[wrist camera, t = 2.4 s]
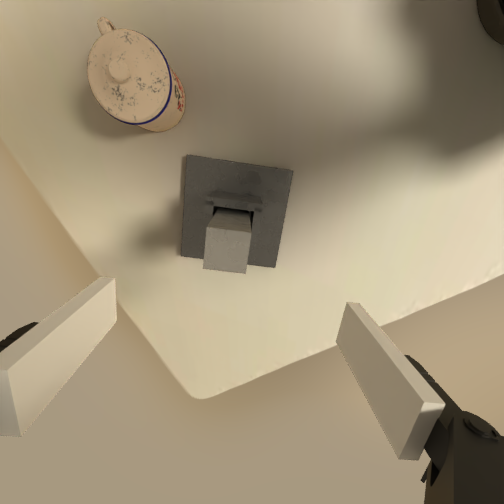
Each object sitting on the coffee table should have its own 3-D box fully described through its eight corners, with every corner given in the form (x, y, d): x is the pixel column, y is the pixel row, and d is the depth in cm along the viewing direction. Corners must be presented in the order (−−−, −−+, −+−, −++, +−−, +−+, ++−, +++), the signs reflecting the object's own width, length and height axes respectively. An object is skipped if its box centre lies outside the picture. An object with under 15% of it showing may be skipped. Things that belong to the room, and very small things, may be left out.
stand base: (189, 155, 39) (169, 150, 29) (291, 170, 40) (307, 171, 30) (182, 253, 44) (164, 278, 34) (274, 264, 45) (282, 292, 35)
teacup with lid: (199, 114, 37) (180, 92, 26) (147, 145, 38) (107, 136, 27) (153, 24, 33) (107, -47, 22) (96, 60, 34) (27, 9, 23)
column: (223, 201, 39) (206, 226, 22) (248, 204, 40) (251, 232, 23) (219, 230, 41) (202, 276, 24) (244, 234, 41) (244, 281, 24)
